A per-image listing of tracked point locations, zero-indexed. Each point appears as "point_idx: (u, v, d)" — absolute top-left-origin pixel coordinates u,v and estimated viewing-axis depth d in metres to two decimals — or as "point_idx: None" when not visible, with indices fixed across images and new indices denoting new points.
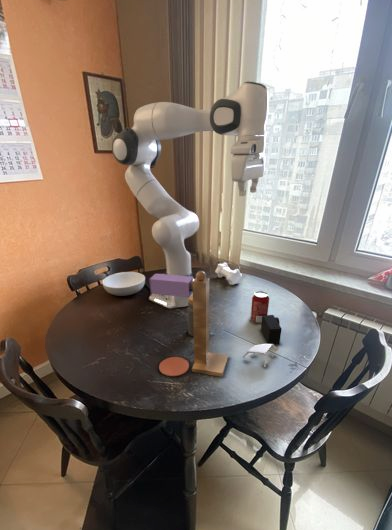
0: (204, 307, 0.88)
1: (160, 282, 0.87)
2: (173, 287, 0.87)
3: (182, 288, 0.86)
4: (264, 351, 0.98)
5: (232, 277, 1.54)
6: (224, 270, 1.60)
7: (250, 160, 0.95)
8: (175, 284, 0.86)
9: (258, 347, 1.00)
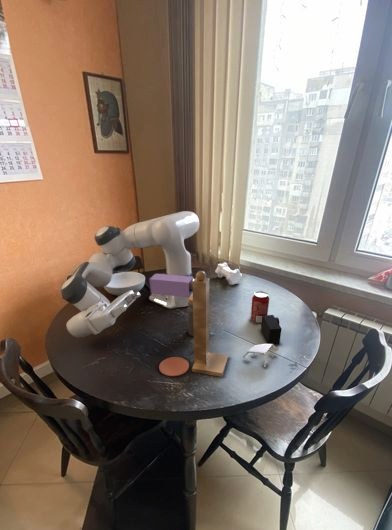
0: (204, 307, 0.88)
1: (160, 282, 0.87)
2: (173, 287, 0.87)
3: (182, 288, 0.86)
4: (264, 351, 0.98)
5: (232, 277, 1.54)
6: (224, 270, 1.60)
7: (100, 312, 0.97)
8: (175, 284, 0.86)
9: (258, 347, 1.00)
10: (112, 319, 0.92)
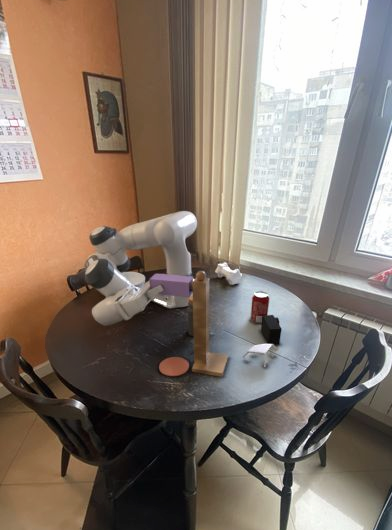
0: (204, 307, 0.88)
1: (160, 282, 0.87)
2: (173, 287, 0.87)
3: (182, 288, 0.86)
4: (264, 351, 0.98)
5: (232, 277, 1.54)
6: (224, 270, 1.60)
7: (131, 296, 0.90)
8: (175, 284, 0.86)
9: (258, 347, 1.00)
10: (146, 303, 0.86)
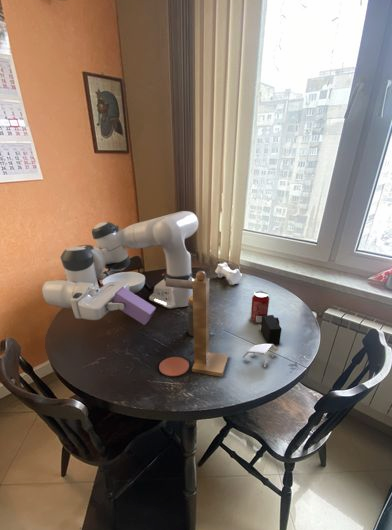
0: (204, 307, 0.88)
1: (125, 301, 0.89)
2: (134, 311, 0.90)
3: (142, 316, 0.90)
4: (264, 351, 0.98)
5: (232, 277, 1.54)
6: (224, 270, 1.60)
7: (91, 298, 0.90)
8: (137, 309, 0.89)
9: (258, 347, 1.00)
10: (103, 315, 0.87)
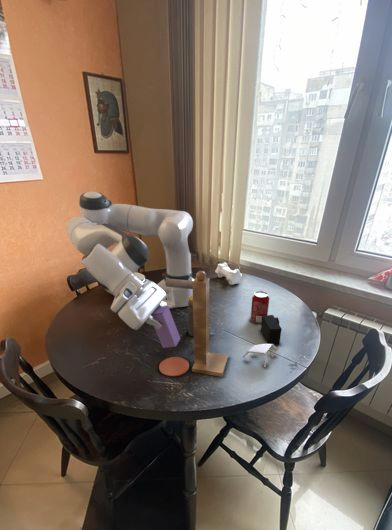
0: (204, 307, 0.88)
1: (164, 323, 0.89)
2: (165, 334, 0.92)
3: (168, 342, 0.93)
4: (264, 351, 0.98)
5: (232, 277, 1.54)
6: (224, 270, 1.60)
7: (136, 301, 0.86)
8: (169, 335, 0.91)
9: (258, 347, 1.00)
10: None
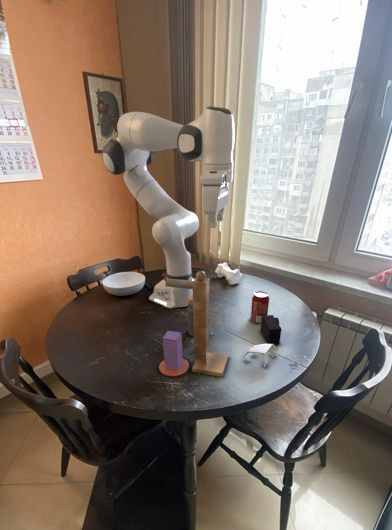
0: (204, 307, 0.88)
1: (174, 349, 0.93)
2: (171, 358, 0.96)
3: (172, 365, 0.97)
4: (264, 351, 0.98)
5: (232, 277, 1.54)
6: (224, 270, 1.60)
7: (220, 190, 0.87)
8: (175, 360, 0.96)
9: (258, 347, 1.00)
10: None
